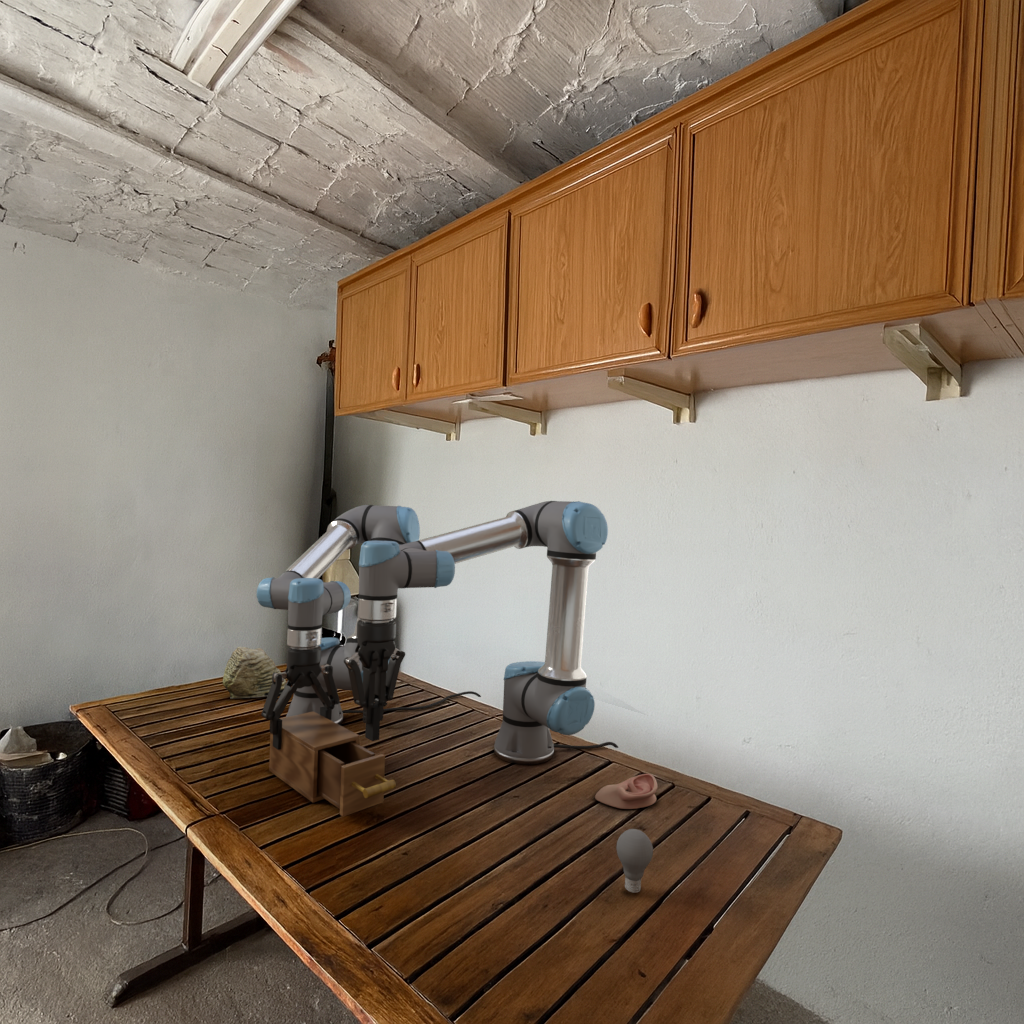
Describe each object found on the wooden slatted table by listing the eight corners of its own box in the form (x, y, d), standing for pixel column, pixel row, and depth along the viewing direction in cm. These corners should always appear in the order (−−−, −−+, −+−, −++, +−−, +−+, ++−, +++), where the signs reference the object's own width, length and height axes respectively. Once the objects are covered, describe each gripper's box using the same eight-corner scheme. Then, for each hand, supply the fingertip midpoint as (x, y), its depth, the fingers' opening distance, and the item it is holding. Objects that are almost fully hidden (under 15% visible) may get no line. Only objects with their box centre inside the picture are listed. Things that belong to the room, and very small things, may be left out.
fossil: (218, 695, 195) (220, 647, 195) (278, 685, 208) (279, 640, 207) (228, 703, 189) (230, 653, 188) (289, 692, 201) (290, 645, 201)
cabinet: (357, 787, 138) (359, 735, 138) (312, 802, 131) (314, 747, 130) (312, 758, 153) (313, 711, 152) (269, 770, 145) (270, 720, 145)
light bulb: (610, 879, 108) (613, 822, 108) (644, 879, 109) (647, 822, 109) (619, 902, 102) (622, 840, 102) (655, 901, 103) (658, 840, 103)
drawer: (401, 813, 126) (402, 764, 126) (359, 829, 119) (361, 778, 119) (335, 771, 144) (336, 729, 144) (295, 783, 137) (297, 739, 137)
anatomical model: (594, 786, 135) (598, 765, 146) (593, 805, 135) (597, 782, 146) (658, 795, 132) (657, 772, 143) (657, 814, 132) (656, 790, 143)
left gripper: (261, 656, 134) (257, 759, 135) (357, 642, 151) (353, 734, 151) (247, 649, 140) (243, 749, 140) (341, 637, 156) (337, 725, 157)
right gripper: (358, 626, 117) (353, 752, 118) (415, 619, 126) (410, 736, 127) (337, 619, 123) (332, 740, 123) (393, 613, 132) (389, 725, 132)
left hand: (300, 741), depth 146 cm, fingers closed on cabinet, 11 cm apart
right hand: (372, 738), depth 125 cm, fingers closed
